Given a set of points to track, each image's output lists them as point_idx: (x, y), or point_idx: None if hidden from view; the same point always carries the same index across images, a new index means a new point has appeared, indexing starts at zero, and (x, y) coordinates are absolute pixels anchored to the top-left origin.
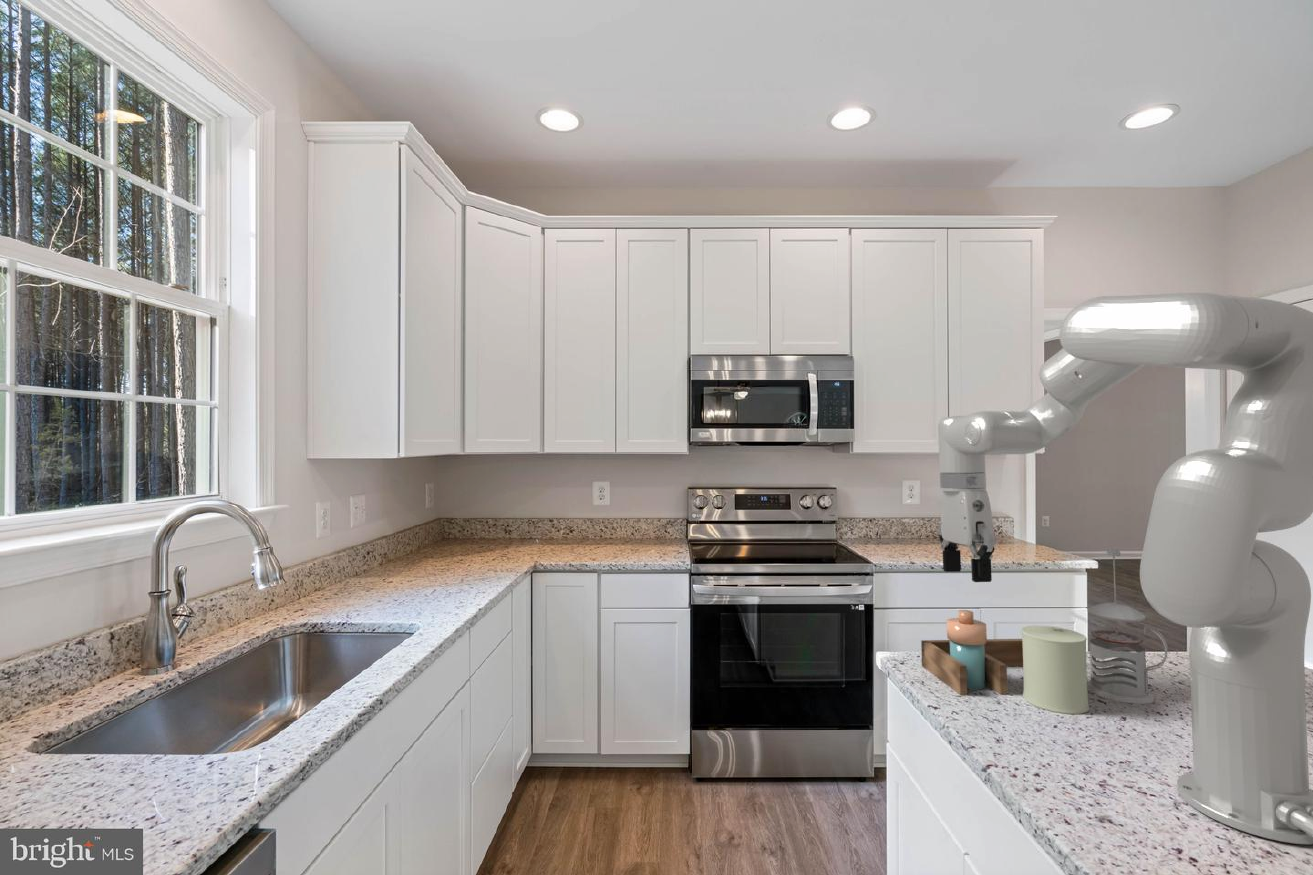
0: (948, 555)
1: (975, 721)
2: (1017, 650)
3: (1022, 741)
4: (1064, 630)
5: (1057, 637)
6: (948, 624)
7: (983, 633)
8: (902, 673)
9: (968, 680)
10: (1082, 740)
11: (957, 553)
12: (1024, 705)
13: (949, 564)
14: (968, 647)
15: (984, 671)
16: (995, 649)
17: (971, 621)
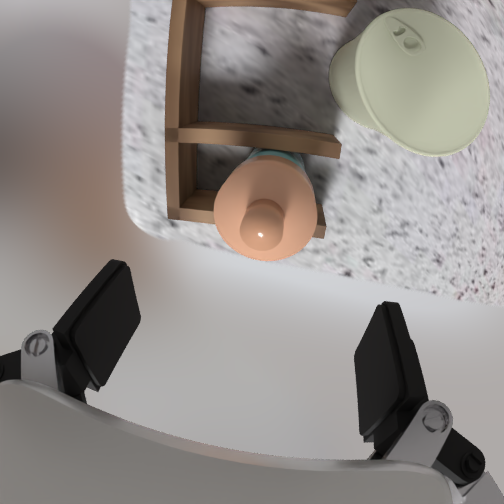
0: (106, 364)
1: (397, 253)
2: (193, 15)
3: (451, 237)
4: (407, 21)
5: (456, 101)
6: (258, 257)
7: (313, 193)
8: (218, 247)
9: None
10: (474, 166)
11: (84, 338)
12: (378, 144)
13: (123, 327)
14: None
15: (298, 158)
16: (188, 60)
17: (283, 217)
